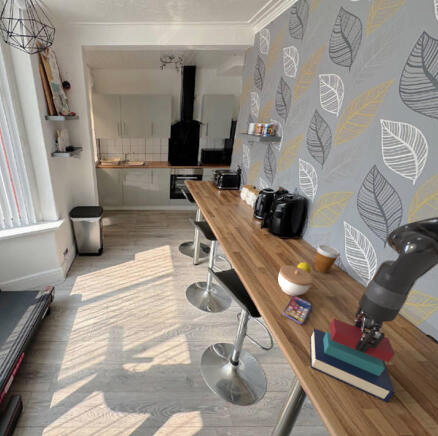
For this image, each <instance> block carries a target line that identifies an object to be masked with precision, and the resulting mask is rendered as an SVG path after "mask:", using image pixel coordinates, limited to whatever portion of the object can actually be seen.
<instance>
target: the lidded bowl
mask: <svg viewBox="0 0 438 436" xmlns="http://www.w3.org/2000/svg"><path fill="white" fill-rule="evenodd" d="M277 281H278V285H279V286H280V288H281V290H282V291H283V293H285V294H287V295H289V296H292V297H293V296H298V297H299V296H302V295H304V294H305V293H307V292H308V291H309V290H310V288H311V286H312V284H313V283H314V278H313V276H312V274H310V273H308V272H307V271H305V270H303V269H301V268H298V267H297V266H294V265H283V266H281V267H280V269H279V273H278V278H277Z"/></svg>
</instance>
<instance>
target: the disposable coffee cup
mask: <svg viewBox="0 0 438 436" xmlns="http://www.w3.org/2000/svg"><path fill="white" fill-rule="evenodd" d="M340 256H341V253H340V250H339V249H337V248H336V247H333V246H331V245H327V244H320V245H318V247H316V255H315V261H314V264H313V268H314V269H315V270H316V271H318V272H320V273H324V274H328V273H329V271H330V270H331V269H332V267H333V265H334V264H335V262H336V261H337V259H338V258H339V257H340Z"/></svg>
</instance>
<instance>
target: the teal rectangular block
mask: <svg viewBox="0 0 438 436" xmlns="http://www.w3.org/2000/svg"><path fill="white" fill-rule="evenodd" d="M325 333H326V334H325V336H324V339H323V342H324V352H325V354H328V355H330V356H333V357H335V358H337V359H340V360H342V361H344V362H347V363H349V364H352V365H354V366H356V367H359V368H361V369H363V370H366V371H368V372H371V373H373V374H375V375H378V376H380V375H381V373H382V372H383V370H384V369H385V367H384V364H383V361H382V360H380V359H378V358H375V357H373V356H370V355H368V354H365V353H363V352H360V351H358V350H355V349H353V348H350V347H348V346H345V345H343V344H340V343H338V342H335V341H333V340H331V333H330V331H326V332H325Z"/></svg>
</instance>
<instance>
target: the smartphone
mask: <svg viewBox="0 0 438 436" xmlns="http://www.w3.org/2000/svg"><path fill="white" fill-rule="evenodd" d="M312 308H313V303H312V302H310V301H308V300H306V299H304V298H301V297H299V295H298V296H292V297H291V299H290V300H289V301H288V303H287V305H286V306H285V308H284V310H283V312H282V314H283V316H285V317H287V318H288V319H290V320H292V321H294V322H295V323H297V324H299V325H304V324H305V322H306V320H307V318H308V316H309V314H310V312H311V310H312Z"/></svg>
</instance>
